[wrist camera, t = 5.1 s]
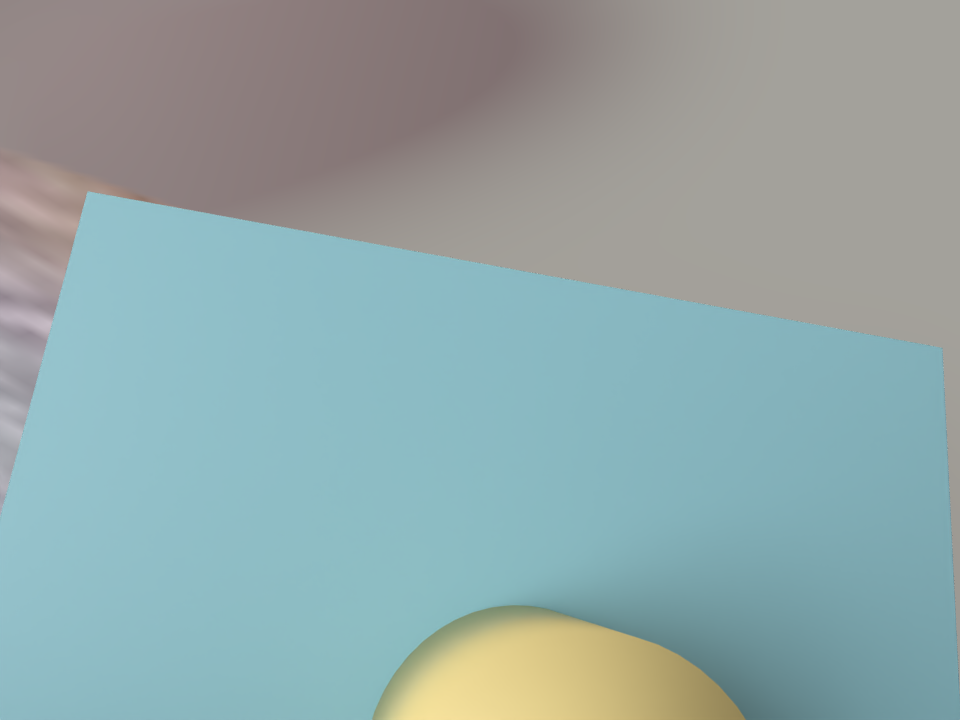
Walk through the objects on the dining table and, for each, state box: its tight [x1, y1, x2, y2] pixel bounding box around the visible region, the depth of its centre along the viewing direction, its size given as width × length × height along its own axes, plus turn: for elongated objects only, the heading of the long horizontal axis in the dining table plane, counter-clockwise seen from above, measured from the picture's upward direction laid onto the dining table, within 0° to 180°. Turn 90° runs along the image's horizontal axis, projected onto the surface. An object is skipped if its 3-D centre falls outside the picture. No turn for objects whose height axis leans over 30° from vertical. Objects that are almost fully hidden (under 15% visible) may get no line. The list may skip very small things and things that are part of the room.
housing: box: [0, 192, 960, 720], centre depth 9 cm, size 6×6×12 cm
